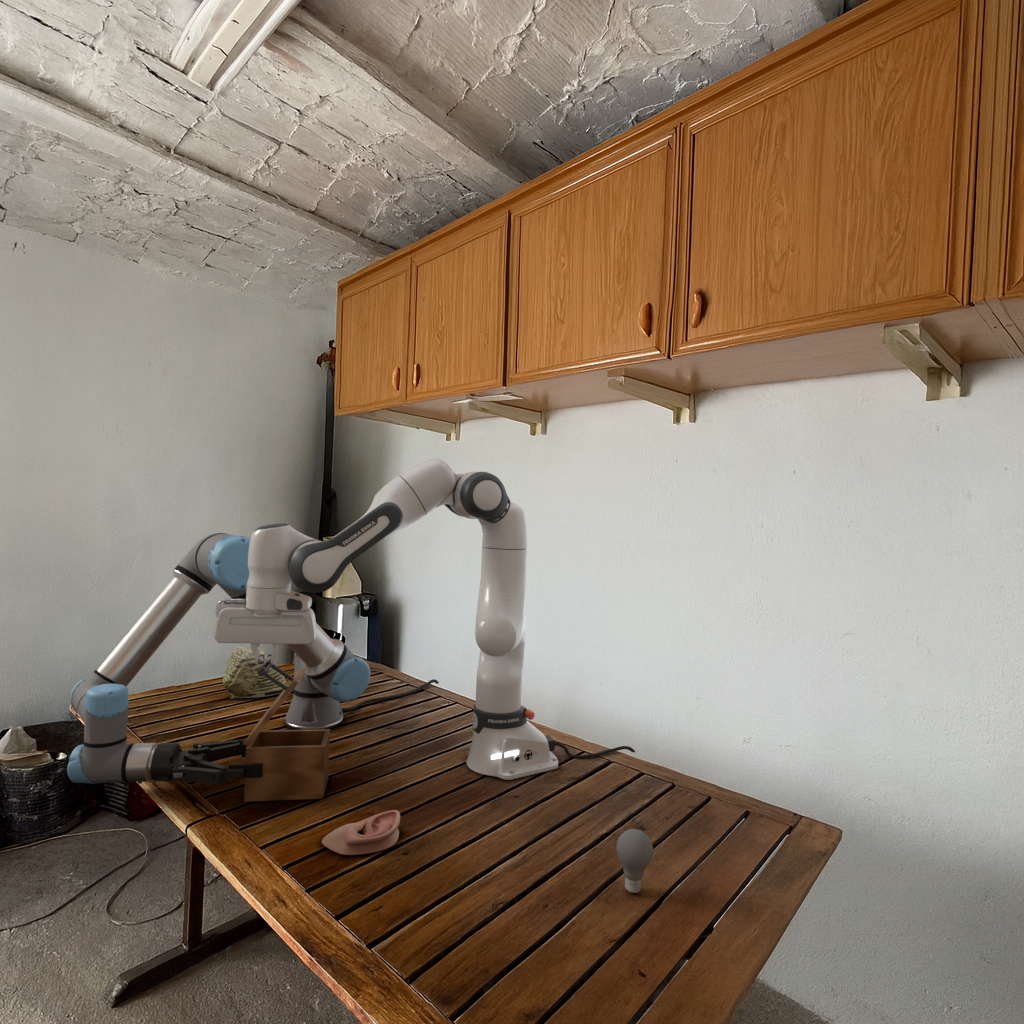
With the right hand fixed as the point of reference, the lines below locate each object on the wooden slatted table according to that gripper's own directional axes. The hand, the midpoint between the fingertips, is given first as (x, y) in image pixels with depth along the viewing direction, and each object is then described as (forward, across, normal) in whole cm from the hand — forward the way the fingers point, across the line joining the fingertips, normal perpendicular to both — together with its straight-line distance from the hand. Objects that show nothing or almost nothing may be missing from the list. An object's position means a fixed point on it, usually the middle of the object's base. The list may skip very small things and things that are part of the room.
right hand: (265, 663), depth 135 cm
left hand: (+21, +2, 0) cm, 21 cm away
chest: (+27, +6, 0) cm, 28 cm away
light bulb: (+26, +68, -42) cm, 84 cm away
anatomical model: (+27, +23, -22) cm, 42 cm away
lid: (+9, +3, 0) cm, 10 cm away
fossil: (+28, -15, +66) cm, 73 cm away
